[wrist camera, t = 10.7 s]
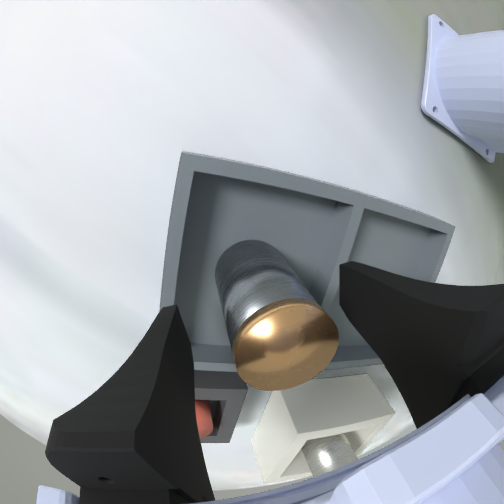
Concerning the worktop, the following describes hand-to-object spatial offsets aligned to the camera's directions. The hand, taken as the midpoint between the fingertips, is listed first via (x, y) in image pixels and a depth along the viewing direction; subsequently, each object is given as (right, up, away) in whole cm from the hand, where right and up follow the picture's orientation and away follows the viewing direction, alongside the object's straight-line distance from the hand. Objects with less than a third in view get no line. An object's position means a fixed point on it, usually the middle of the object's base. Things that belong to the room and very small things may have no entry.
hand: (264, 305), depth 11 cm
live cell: (-1, +1, +3) cm, 3 cm away
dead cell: (+4, -11, +9) cm, 15 cm away
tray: (+3, +1, +4) cm, 5 cm away
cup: (+4, -11, +9) cm, 15 cm away
